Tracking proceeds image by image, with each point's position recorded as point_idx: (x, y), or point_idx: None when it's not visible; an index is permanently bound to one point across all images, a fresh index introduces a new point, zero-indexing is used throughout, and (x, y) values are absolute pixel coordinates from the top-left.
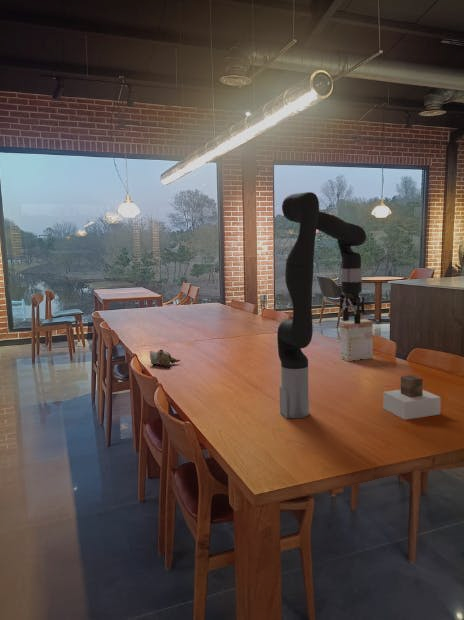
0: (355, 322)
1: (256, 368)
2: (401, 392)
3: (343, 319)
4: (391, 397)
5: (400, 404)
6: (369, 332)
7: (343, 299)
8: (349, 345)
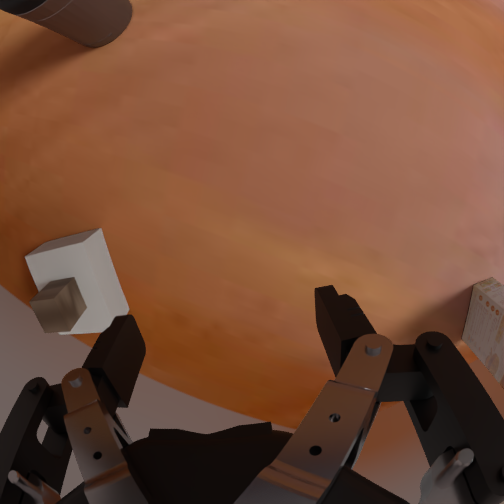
0: (113, 321)
1: (489, 53)
2: (70, 278)
3: (323, 288)
4: (59, 246)
5: (38, 250)
6: (494, 369)
7: (442, 460)
8: (495, 309)
